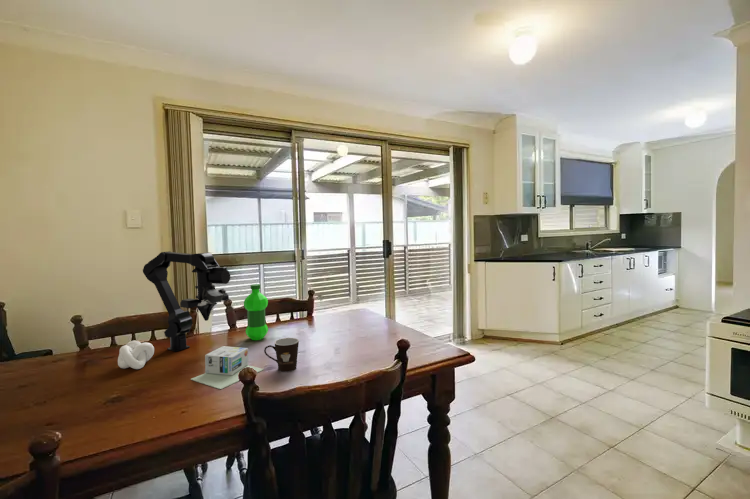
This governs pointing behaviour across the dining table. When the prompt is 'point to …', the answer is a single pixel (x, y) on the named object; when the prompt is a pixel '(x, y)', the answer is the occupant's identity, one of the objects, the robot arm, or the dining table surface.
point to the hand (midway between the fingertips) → (206, 320)
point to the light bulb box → (226, 360)
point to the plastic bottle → (256, 313)
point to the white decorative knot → (135, 354)
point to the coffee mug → (285, 353)
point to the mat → (220, 378)
